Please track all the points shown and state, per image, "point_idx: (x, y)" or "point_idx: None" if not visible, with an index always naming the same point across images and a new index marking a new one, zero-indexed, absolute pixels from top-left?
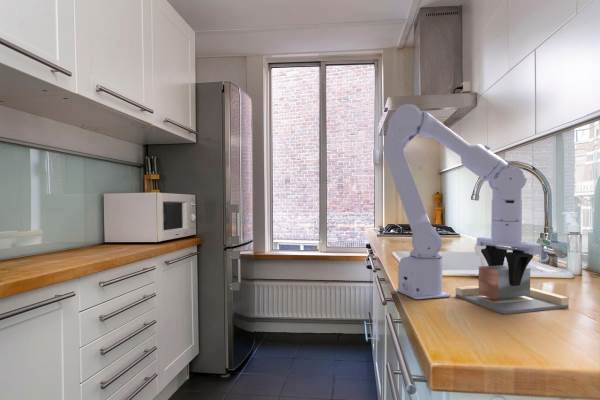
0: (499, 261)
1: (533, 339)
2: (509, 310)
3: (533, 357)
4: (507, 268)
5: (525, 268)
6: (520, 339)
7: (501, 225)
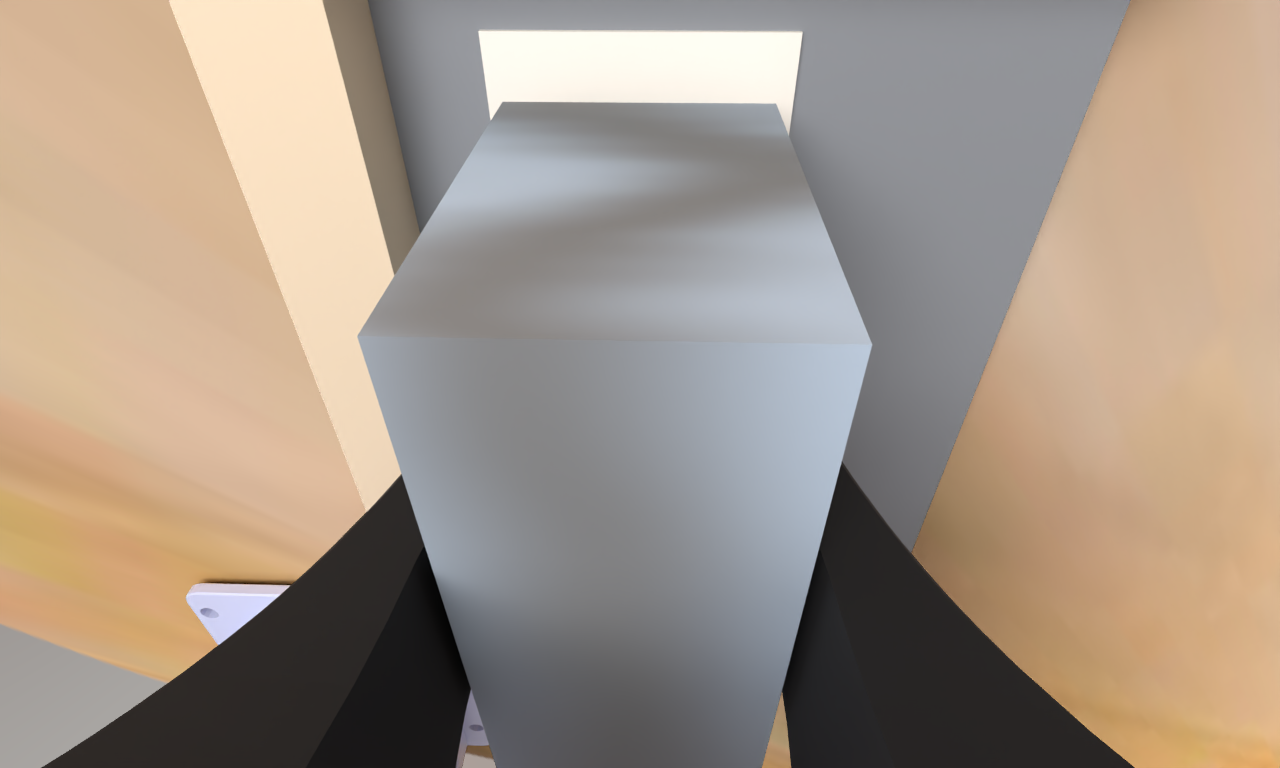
0: (412, 694)
1: (1184, 676)
2: (908, 545)
3: (1236, 760)
4: (720, 693)
5: (957, 611)
6: (1138, 705)
7: None
